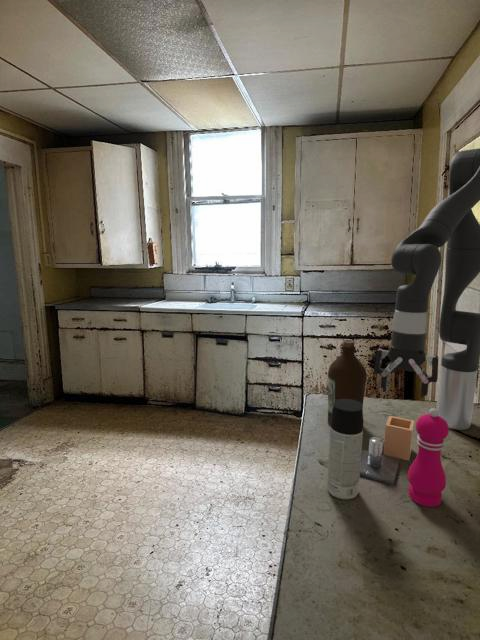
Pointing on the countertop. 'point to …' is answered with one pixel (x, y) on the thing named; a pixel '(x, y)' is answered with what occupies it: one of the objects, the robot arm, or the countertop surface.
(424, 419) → the pepper mill
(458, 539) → the countertop surface
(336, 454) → the spray can
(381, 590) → the countertop surface
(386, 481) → the flange
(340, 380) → the olive oil
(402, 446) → the duct sleeve
